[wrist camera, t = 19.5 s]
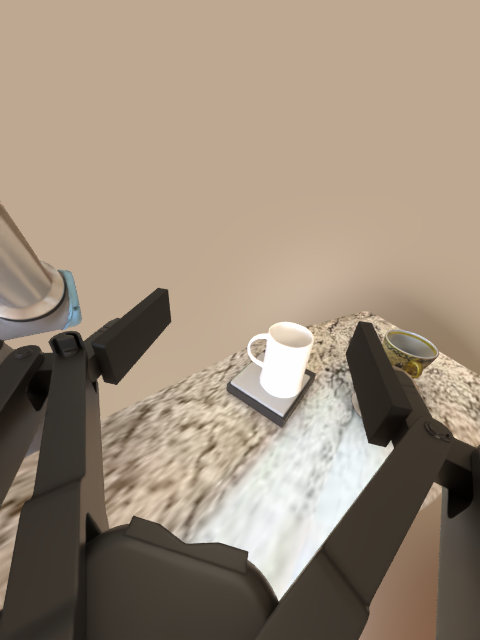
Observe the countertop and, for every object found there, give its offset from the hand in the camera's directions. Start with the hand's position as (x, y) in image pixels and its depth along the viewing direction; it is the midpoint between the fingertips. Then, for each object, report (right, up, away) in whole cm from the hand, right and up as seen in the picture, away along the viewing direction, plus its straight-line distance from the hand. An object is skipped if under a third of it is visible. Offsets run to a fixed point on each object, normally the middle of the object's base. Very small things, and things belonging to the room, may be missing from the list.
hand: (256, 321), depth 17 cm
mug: (+6, -12, +32) cm, 35 cm away
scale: (+6, -14, +35) cm, 38 cm away
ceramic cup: (+35, -14, +39) cm, 54 cm away
